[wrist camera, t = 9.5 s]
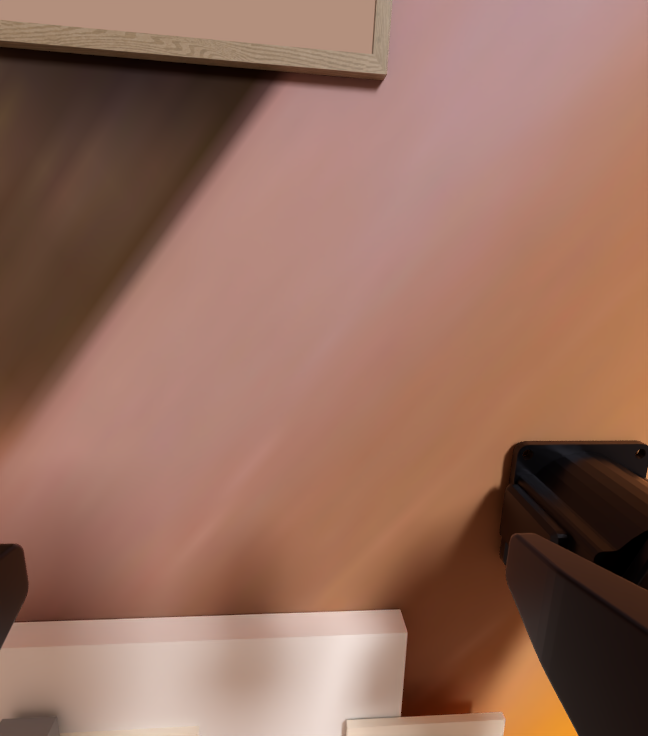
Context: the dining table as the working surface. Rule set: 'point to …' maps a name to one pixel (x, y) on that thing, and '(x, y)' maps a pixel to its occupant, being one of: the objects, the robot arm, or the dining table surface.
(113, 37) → the picture frame
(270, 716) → the board
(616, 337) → the dining table surface
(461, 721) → the cream plate grey block
